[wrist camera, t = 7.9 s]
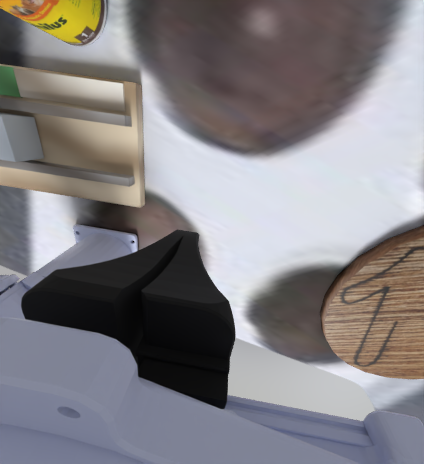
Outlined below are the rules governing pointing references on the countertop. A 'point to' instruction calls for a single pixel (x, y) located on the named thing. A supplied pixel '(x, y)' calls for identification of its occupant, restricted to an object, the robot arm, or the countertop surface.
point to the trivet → (380, 309)
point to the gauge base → (77, 135)
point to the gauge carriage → (19, 138)
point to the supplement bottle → (62, 17)
